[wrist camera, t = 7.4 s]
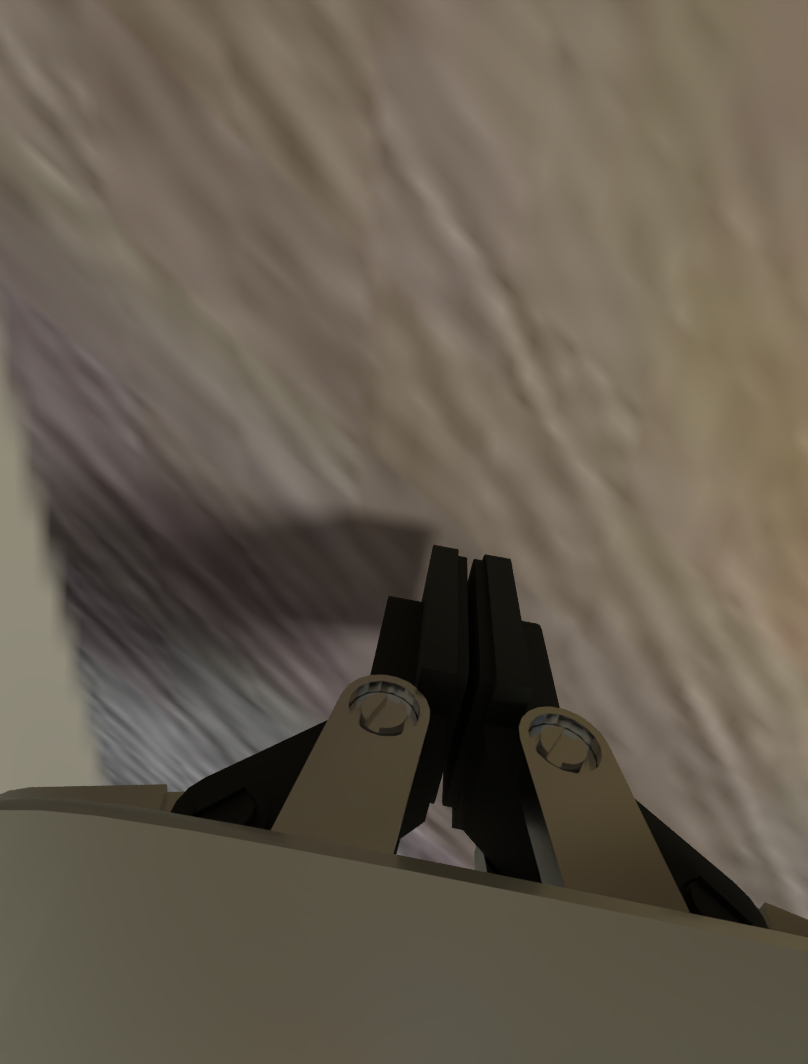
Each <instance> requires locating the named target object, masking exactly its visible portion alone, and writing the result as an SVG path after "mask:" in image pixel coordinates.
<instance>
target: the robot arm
mask: <svg viewBox="0 0 808 1064" xmlns="http://www.w3.org/2000/svg"><path fill="white" fill-rule="evenodd" d="M458 552H459V551H458V549H454V548H448V547H443V546H437V545H434V546H433V549H432V554H431V559H430V563H429V568H428V573H427V578H426V583H425V588H424V592H423V597H422V602H419V601H413V600H408V599H403V598H397V597H392V596H389V597H388V601H387V605H386V610H385V614H384V618H383V623H382V627H381V631H380V636H379V640H378V644H377V649H376V653H375V658H374V662H373V666H372V671H371V675H369V676H365V677H362V678H358V679H357V680H355V681H354V682H352V683H350V684H349V685H348V686H347V687H346V688H345V690H344V691H343V692H342V693H341V695H340V697H339V699H338V701H337V703H336V705H335V707H334V709H333V711H332V713H331V715H330V717H329V718H328V720H327V721H325V722H323V723H320V724H318V725H316V726H314V727H312V728H310V729H308V730H305V731H303V732H301V733H299V734H297V735H295V736H293V737H291V738H288V739H286V740H284V741H282V742H280V743H278V744H276V745H274V746H271V747H269V748H267V749H265V750H263V751H261V752H259V753H257V754H254V755H252V756H250V757H248V758H246V759H244V760H242V761H240V762H237V763H235V764H233V765H231V766H229V767H227V768H225V769H223V770H220V771H218V772H216V773H214V774H212V775H210V776H208V777H206V778H204V779H202V780H201V781H199V782H197V783H196V784H194V785H193V786H191V787H189V788H188V789H187V790H186V791H185V792H167V784H159V785H113V786H67V787H29V788H22V789H16V790H10V791H7V792H5V793H3V794H0V1064H808V920H807V919H805V918H802V917H800V916H798V915H795V914H793V913H790V912H788V911H785V910H783V909H780V908H778V907H776V906H773V905H771V904H768V903H766V902H765V903H764V904H763V905H762V907H761V908H760V909H759V908H757V907H756V906H755V905H754V903H753V902H752V900H751V899H750V898H749V897H748V896H747V895H746V894H745V893H744V892H743V891H742V890H741V889H740V888H739V887H738V886H737V885H736V884H735V883H734V882H733V881H732V880H731V879H729V878H728V877H727V876H726V875H725V874H723V873H722V872H721V871H720V870H719V869H718V868H716V867H715V866H714V865H713V864H712V863H710V862H709V861H708V860H707V859H706V858H704V857H703V856H702V855H701V854H700V853H699V852H697V851H696V850H695V849H694V848H693V847H691V846H690V845H689V844H688V843H687V842H685V841H684V840H683V839H682V838H681V837H680V836H678V835H677V834H676V833H675V832H674V831H672V830H671V829H670V828H669V827H668V826H666V825H665V824H664V823H663V822H662V821H661V820H659V819H658V818H657V817H656V816H655V815H653V814H652V813H651V812H650V811H649V810H647V809H646V808H645V807H644V806H643V805H642V804H640V803H639V802H638V801H637V800H636V799H635V798H634V796H633V794H632V792H631V790H630V788H629V786H628V784H627V782H626V780H625V778H624V776H623V774H622V771H621V769H620V767H619V765H618V763H617V761H616V759H615V757H614V755H613V753H612V751H611V749H610V747H609V745H608V743H607V742H606V740H605V739H604V737H603V736H602V734H601V733H600V732H599V731H598V730H597V729H596V728H595V727H594V726H593V725H592V724H591V723H590V722H588V721H587V720H585V719H583V718H582V717H580V716H579V715H577V714H575V713H572V712H570V711H568V710H565V709H561V708H560V707H559V703H558V699H557V694H556V690H555V686H554V681H553V677H552V672H551V668H550V664H549V659H548V655H547V651H546V646H545V642H544V638H543V633H542V629H541V627H540V625H539V624H536V623H530V622H525V621H522V620H521V615H520V609H519V603H518V598H517V592H516V586H515V581H514V575H513V569H512V563H511V560H510V559H507V558H502V557H497V556H491V555H486V554H485V555H484V557H483V560H477V559H474V560H473V563H472V567H471V571H470V575H469V579H468V580H467V558H466V557H461V556H458ZM442 774H443V794H442V803H443V806H447V807H452V828H456V829H461V830H463V831H464V832H465V833H466V834H467V835H468V836H469V838H470V839H471V840H472V841H473V842H474V843H475V844H476V849H475V852H474V859H475V870H472V869H467V868H462V867H456V866H451V865H446V864H441V863H436V862H431V861H426V860H421V859H416V858H411V857H406V856H400V855H396V854H397V851H398V847H399V843H400V839H401V838H402V837H403V836H405V835H406V834H408V833H409V832H410V831H412V830H413V829H415V828H416V827H418V826H419V825H420V824H422V823H423V822H425V818H426V815H427V811H428V807H429V804H430V803H432V804H434V802H435V799H436V796H437V792H438V789H439V785H440V781H441V778H442Z"/></svg>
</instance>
